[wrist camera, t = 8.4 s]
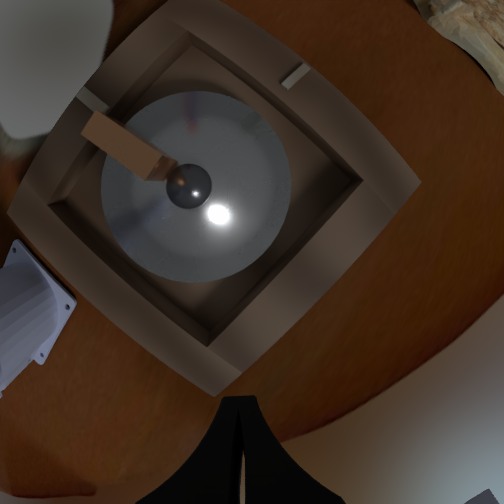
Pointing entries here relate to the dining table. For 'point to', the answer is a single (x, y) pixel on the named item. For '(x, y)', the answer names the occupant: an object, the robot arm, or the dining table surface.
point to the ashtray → (471, 30)
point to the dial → (192, 184)
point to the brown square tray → (297, 218)
